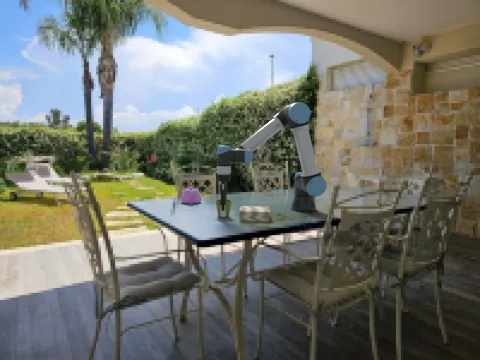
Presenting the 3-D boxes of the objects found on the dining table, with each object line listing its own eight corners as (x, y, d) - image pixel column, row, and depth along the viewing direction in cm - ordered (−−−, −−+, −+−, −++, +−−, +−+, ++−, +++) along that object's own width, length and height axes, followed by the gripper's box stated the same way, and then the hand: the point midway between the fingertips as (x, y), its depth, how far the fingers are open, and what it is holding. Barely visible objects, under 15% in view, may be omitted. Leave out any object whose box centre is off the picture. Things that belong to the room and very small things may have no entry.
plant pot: (229, 218, 194) (230, 202, 193) (212, 217, 196) (213, 201, 195) (233, 215, 203) (233, 199, 202) (217, 214, 205) (217, 199, 204)
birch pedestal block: (268, 215, 204) (268, 206, 203) (270, 221, 188) (270, 211, 187) (239, 214, 204) (240, 206, 204) (239, 220, 188) (239, 211, 188)
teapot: (200, 200, 257) (200, 185, 255) (202, 204, 237) (202, 188, 236) (180, 200, 254) (180, 185, 253) (181, 205, 234) (180, 188, 233)
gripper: (218, 172, 208) (218, 211, 210) (215, 175, 187) (215, 218, 189) (231, 172, 207) (231, 211, 210) (229, 175, 186) (229, 218, 189)
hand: (223, 214), depth 199 cm, fingers closed on plant pot, 8 cm apart
